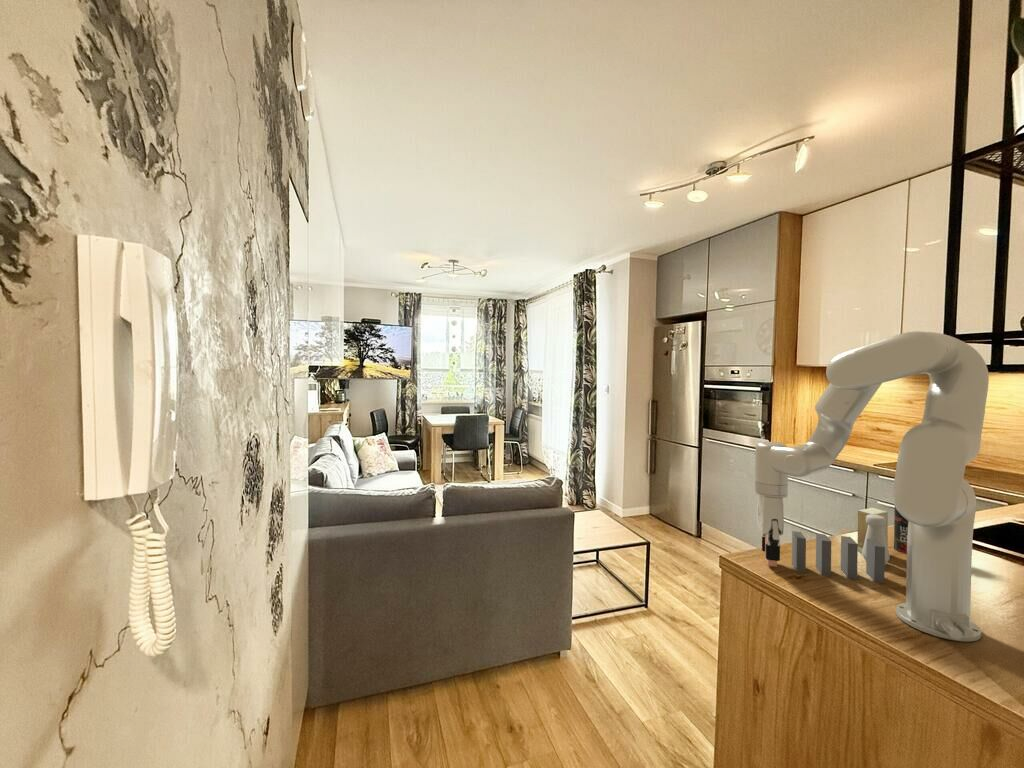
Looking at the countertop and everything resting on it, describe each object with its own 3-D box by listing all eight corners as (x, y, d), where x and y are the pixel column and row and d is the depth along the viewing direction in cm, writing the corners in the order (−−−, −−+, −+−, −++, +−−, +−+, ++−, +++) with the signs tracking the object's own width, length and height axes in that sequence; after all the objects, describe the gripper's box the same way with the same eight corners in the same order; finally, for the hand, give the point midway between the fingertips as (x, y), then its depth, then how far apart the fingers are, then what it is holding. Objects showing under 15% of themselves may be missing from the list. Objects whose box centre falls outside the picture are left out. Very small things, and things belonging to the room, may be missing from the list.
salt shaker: (879, 559, 122) (880, 512, 121) (895, 568, 116) (896, 519, 115) (856, 558, 122) (857, 512, 122) (871, 567, 116) (872, 519, 116)
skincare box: (871, 548, 129) (872, 506, 128) (888, 554, 125) (889, 511, 124) (856, 551, 127) (856, 509, 126) (872, 557, 123) (873, 514, 122)
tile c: (857, 579, 110) (857, 544, 110) (847, 578, 111) (848, 543, 110) (849, 571, 115) (850, 536, 114) (840, 570, 115) (841, 536, 115)
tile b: (830, 576, 112) (831, 541, 112) (821, 575, 113) (822, 540, 112) (824, 568, 117) (825, 534, 116) (815, 566, 117) (816, 533, 117)
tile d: (884, 583, 108) (884, 547, 108) (874, 582, 109) (874, 546, 109) (875, 574, 113) (876, 539, 113) (866, 573, 114) (866, 538, 113)
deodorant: (893, 551, 127) (894, 499, 126) (893, 544, 131) (894, 494, 131) (922, 556, 123) (923, 503, 122) (920, 550, 127) (921, 498, 127)
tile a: (805, 573, 114) (805, 538, 114) (796, 571, 115) (796, 537, 114) (800, 565, 119) (800, 531, 118) (791, 563, 119) (792, 531, 119)
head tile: (776, 566, 116) (777, 532, 116) (768, 565, 117) (768, 532, 117) (773, 559, 121) (773, 526, 121) (764, 558, 122) (765, 525, 121)
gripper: (750, 480, 127) (750, 542, 128) (760, 496, 112) (760, 567, 112) (780, 482, 125) (779, 545, 125) (795, 498, 109) (794, 571, 110)
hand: (770, 555), depth 119 cm, fingers closed on head tile, 4 cm apart
